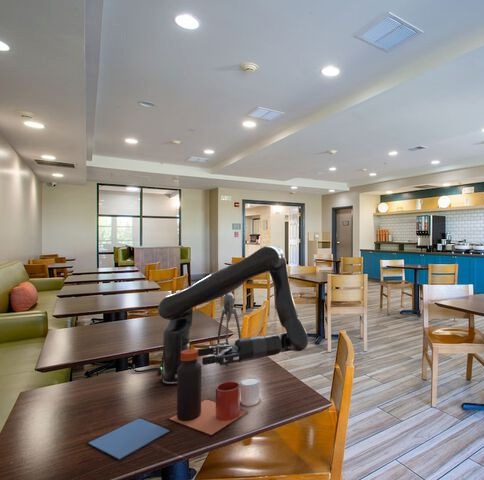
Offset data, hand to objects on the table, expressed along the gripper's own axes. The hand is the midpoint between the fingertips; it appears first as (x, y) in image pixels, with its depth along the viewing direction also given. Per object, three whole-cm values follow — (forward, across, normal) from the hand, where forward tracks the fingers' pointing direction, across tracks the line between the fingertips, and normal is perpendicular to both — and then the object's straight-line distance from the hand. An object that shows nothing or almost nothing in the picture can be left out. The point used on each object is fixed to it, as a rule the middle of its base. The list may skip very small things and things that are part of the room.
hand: (199, 357), depth 108 cm
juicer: (-19, -44, +18) cm, 51 cm away
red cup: (-7, +6, +18) cm, 20 cm away
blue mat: (+18, +3, +18) cm, 26 cm away
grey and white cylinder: (-16, +1, +18) cm, 24 cm away
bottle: (+3, 0, +18) cm, 18 cm away
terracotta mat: (-2, +3, +18) cm, 18 cm away
